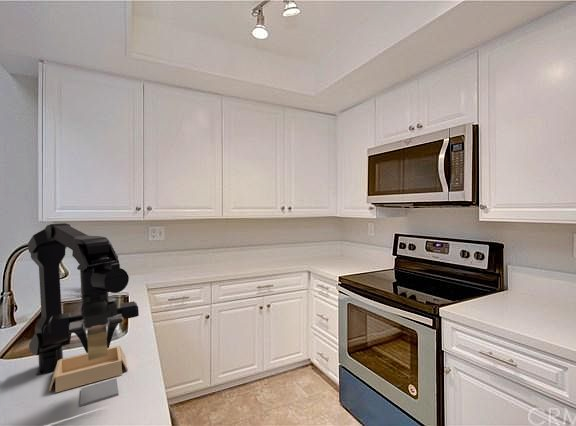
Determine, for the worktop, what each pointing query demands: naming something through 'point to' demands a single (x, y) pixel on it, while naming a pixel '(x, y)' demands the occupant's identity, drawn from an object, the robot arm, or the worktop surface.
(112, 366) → the carton
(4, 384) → the worktop surface
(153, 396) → the worktop surface
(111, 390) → the mat
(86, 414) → the worktop surface
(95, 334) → the block
